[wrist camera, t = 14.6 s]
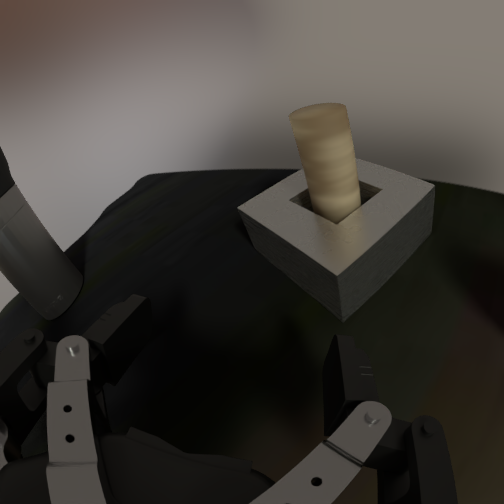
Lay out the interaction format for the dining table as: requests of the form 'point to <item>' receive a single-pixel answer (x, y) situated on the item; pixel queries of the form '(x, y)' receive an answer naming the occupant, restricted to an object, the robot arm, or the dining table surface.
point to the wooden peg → (327, 159)
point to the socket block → (342, 234)
